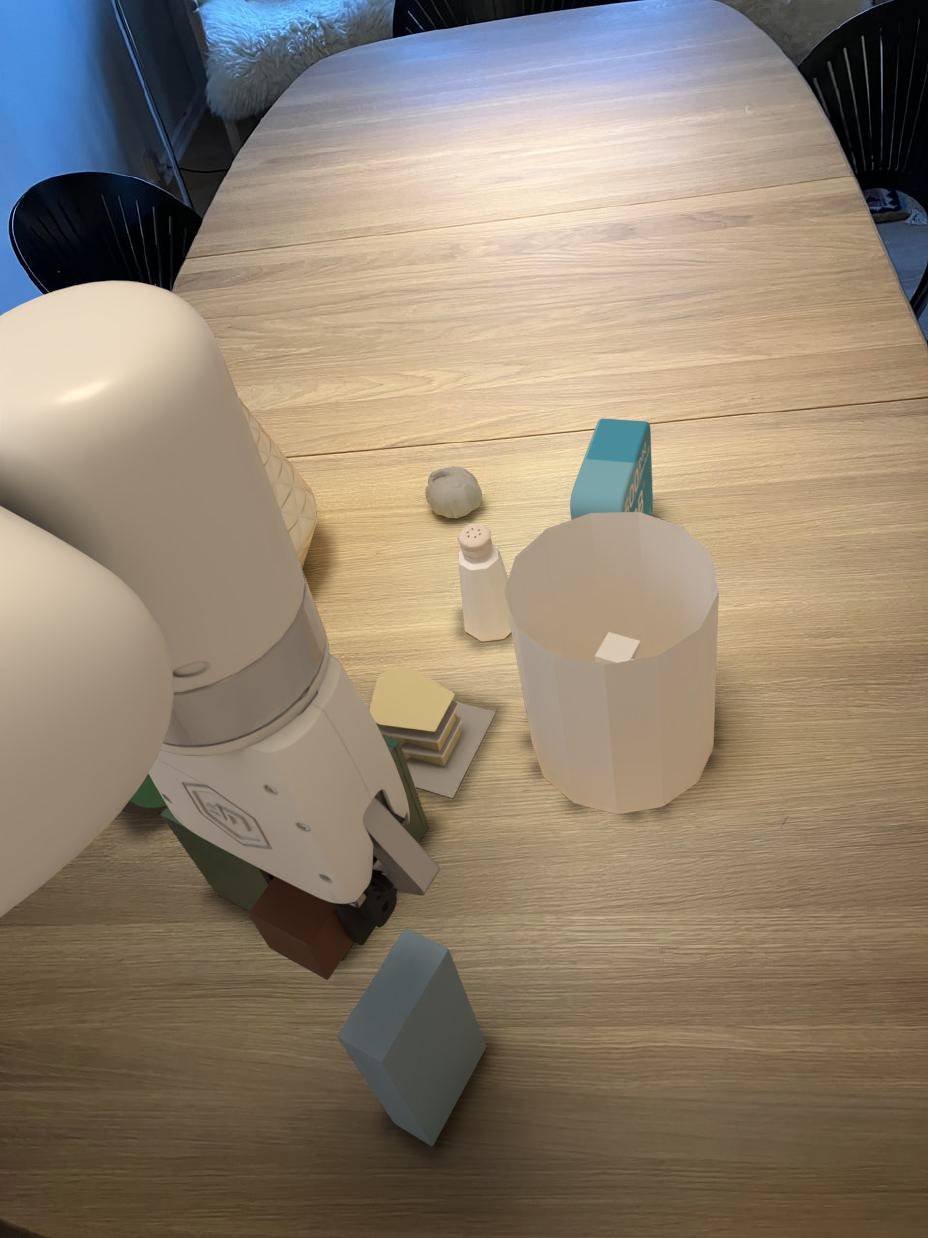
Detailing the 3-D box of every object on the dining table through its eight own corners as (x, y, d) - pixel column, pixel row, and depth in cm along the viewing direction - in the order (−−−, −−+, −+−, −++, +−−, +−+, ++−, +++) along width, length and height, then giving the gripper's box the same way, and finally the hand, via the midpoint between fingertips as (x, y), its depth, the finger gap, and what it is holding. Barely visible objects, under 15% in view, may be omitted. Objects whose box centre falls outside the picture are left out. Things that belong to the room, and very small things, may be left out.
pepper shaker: (453, 637, 94) (432, 550, 86) (475, 594, 97) (455, 507, 89) (509, 648, 92) (492, 560, 84) (529, 604, 95) (514, 515, 87)
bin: (341, 961, 74) (297, 884, 66) (215, 893, 80) (159, 814, 71) (429, 827, 81) (399, 740, 72) (307, 772, 86) (265, 686, 78)
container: (671, 840, 77) (668, 690, 64) (501, 775, 83) (466, 627, 70) (736, 696, 84) (746, 537, 71) (577, 648, 91) (559, 492, 77)
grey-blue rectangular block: (432, 1147, 65) (381, 1063, 54) (393, 1123, 66) (336, 1036, 55) (487, 1046, 69) (449, 948, 58) (449, 1026, 70) (405, 926, 59)
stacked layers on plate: (496, 712, 87) (486, 671, 83) (452, 798, 82) (440, 759, 78) (392, 685, 91) (378, 644, 87) (345, 766, 86) (328, 727, 82)
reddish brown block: (328, 981, 47) (308, 946, 44) (268, 948, 48) (246, 913, 46) (410, 857, 50) (396, 818, 48) (353, 829, 52) (336, 791, 49)
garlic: (418, 521, 105) (408, 482, 101) (441, 487, 108) (432, 448, 104) (471, 532, 103) (463, 492, 99) (493, 497, 106) (486, 457, 102)
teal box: (627, 603, 93) (621, 503, 84) (579, 596, 95) (567, 498, 86) (653, 513, 100) (650, 413, 92) (608, 509, 102) (600, 410, 93)
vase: (236, 668, 95) (140, 477, 79) (132, 592, 105) (26, 407, 88) (369, 557, 103) (307, 360, 86) (260, 495, 112) (185, 307, 95)
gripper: (-22, 647, 37) (161, 892, 51) (342, 817, 30) (445, 1052, 43) (119, 517, 41) (255, 776, 55) (472, 639, 34) (529, 904, 47)
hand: (338, 896), depth 49 cm, fingers closed on reddish brown block, 3 cm apart
